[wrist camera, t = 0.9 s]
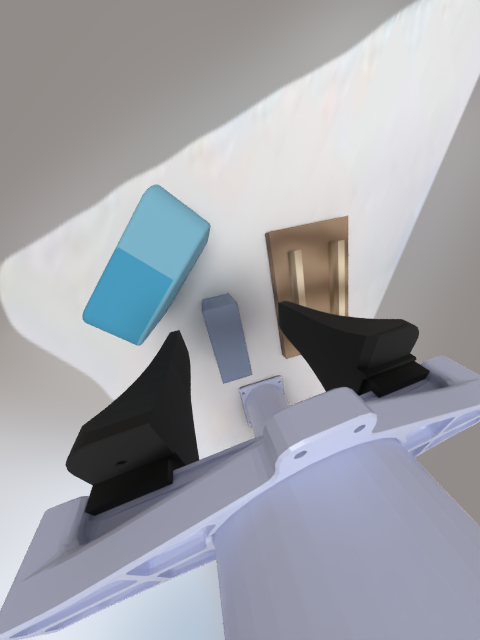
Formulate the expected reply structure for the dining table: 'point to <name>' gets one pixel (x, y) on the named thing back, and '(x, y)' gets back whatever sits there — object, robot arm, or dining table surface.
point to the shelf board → (310, 269)
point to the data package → (147, 266)
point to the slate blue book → (227, 337)
